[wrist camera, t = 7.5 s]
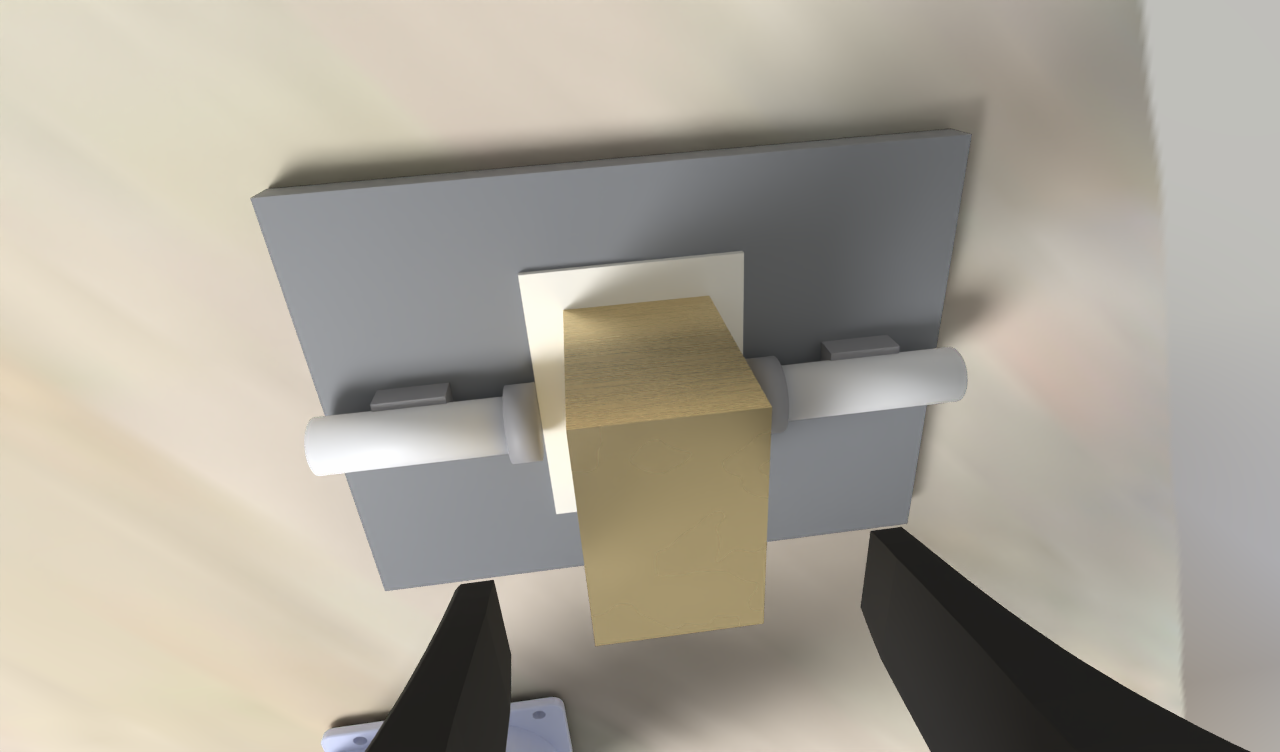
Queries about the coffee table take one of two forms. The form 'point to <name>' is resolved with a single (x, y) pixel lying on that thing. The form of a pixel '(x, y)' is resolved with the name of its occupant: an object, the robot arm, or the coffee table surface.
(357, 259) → the shaft rig
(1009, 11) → the coffee table surface
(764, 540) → the wooden block
